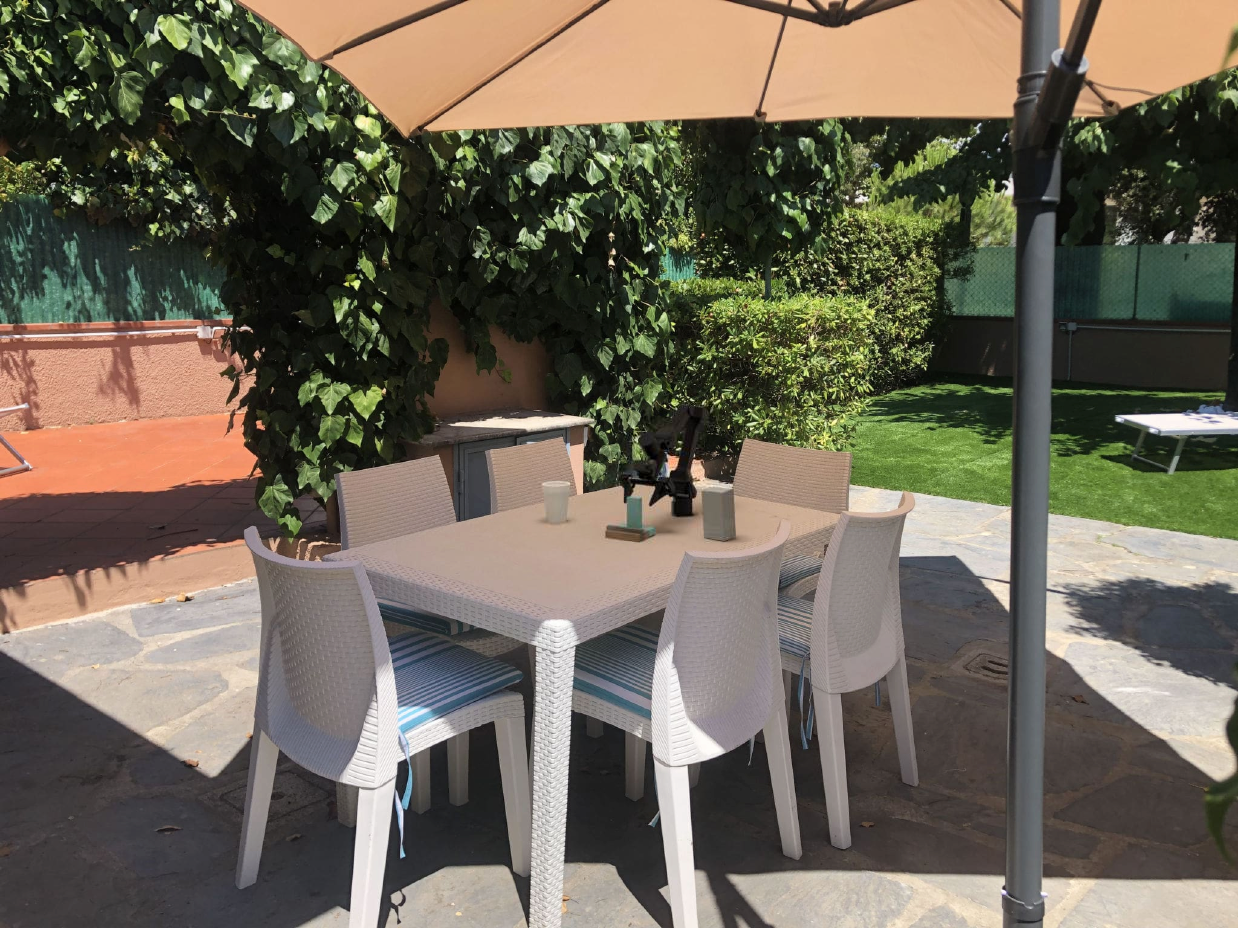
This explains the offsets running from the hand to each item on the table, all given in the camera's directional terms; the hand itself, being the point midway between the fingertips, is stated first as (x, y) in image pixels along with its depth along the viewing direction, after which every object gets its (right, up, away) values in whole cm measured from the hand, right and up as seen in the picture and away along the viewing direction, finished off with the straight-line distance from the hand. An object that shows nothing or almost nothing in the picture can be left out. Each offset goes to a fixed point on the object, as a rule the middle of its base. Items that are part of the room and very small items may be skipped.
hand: (637, 504), depth 313 cm
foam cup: (-27, -7, +20) cm, 34 cm away
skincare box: (+25, -11, -6) cm, 28 cm away
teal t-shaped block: (0, -9, +1) cm, 9 cm away
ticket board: (-3, -10, -4) cm, 12 cm away
